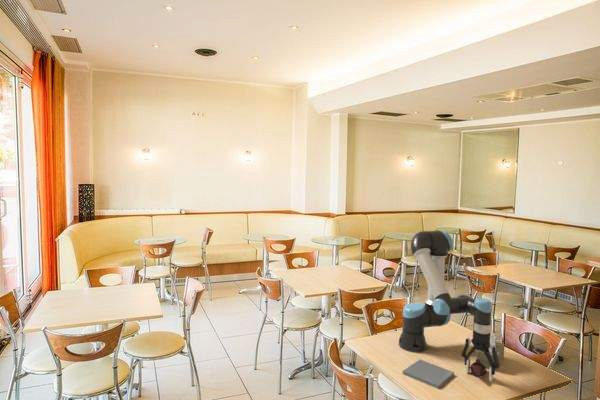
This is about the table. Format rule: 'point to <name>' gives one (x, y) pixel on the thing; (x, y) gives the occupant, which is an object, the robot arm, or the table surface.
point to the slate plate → (428, 373)
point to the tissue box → (500, 352)
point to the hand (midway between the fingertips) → (479, 376)
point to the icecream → (478, 369)
